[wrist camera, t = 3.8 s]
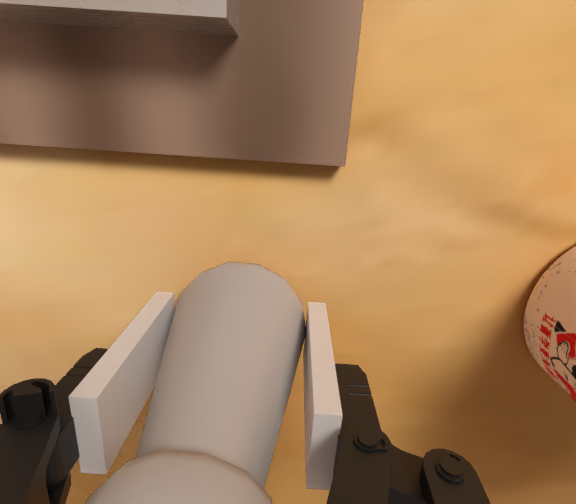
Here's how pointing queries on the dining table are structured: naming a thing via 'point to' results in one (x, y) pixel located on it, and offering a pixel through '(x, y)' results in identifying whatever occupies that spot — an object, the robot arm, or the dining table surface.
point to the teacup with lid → (555, 322)
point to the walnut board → (188, 85)
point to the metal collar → (130, 14)
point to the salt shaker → (217, 393)
